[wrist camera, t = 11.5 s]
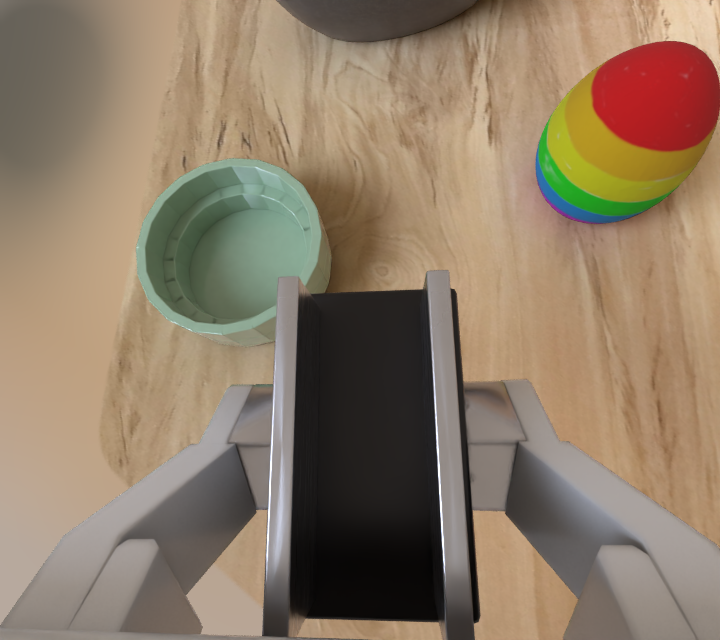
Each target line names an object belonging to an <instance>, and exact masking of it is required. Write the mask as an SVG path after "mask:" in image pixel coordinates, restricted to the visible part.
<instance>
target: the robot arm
mask: <svg viewBox="0 0 720 640" xmlns="http://www.w3.org/2000/svg"><path fill="white" fill-rule="evenodd" d="M463 385H464V399H465V412H466V426H467V440H468V453H469V467H470V480H471V494H472V508H473V510H480V511H506V512H505V514H506V515H507V516H508V517H509V519H510V520H511V521H512V522H513V523H514V524H515V526H516V527H517V528H518V529H519V530H520V531H521V533H522V534H523V535H524V536H525V537H526V538H527V540H528V541H529V542H530V543H531V544H532V546H533V547H534V548H535V549H536V550H537V551H538V553H539V554H540V555H541V556H542V557H543V558H544V560H545V561H546V562H547V563H548V564H549V565H550V567H551V568H552V569H553V570H554V571H555V572H556V574H557V575H558V576H559V577H560V578H561V579H562V581H563V582H564V583H565V584H566V585H567V586H568V588H569V589H570V590H571V591H572V592H573V593H574V595H575V596H576V597H577V598H578V599H579V600H578V602H577V604H576V607H575V609H574V612H573V614H572V617H571V619H570V621H569V624H568V626H567V629H566V631H565V633H564V636H563V640H720V549H719V547H718V546H717V544H715V543H714V542H712V541H711V540H709V539H708V538H706V537H705V536H704V535H702V534H701V533H699V532H698V531H696V530H695V529H694V528H692V527H691V526H689V525H688V524H686V523H685V522H684V521H682V520H681V519H679V518H678V517H676V516H675V515H674V514H672V513H671V512H669V511H668V510H666V509H665V508H663V507H662V506H661V505H659V504H658V503H656V502H655V501H653V500H652V499H651V498H649V497H648V496H646V495H645V494H643V493H642V492H641V491H639V490H638V489H636V488H635V487H633V486H632V485H631V484H629V483H628V482H626V481H625V480H623V479H622V478H621V477H619V476H618V475H616V474H615V473H613V472H612V471H610V470H609V469H608V468H606V467H605V466H603V465H602V464H600V463H599V462H598V461H596V460H595V459H593V458H592V457H590V456H589V455H588V454H586V453H585V452H583V451H582V450H580V449H579V448H578V447H576V446H575V445H573V444H572V443H570V442H569V441H560V440H559V438H558V436H557V434H556V432H555V430H554V428H553V426H552V424H551V422H550V420H549V418H548V416H547V414H546V412H545V410H544V408H543V406H542V404H541V402H540V399H539V397H538V395H537V393H536V391H535V389H534V387H533V385H532V383H531V382H530V381H529V380H527V379H517V380H501V381H471V382H463ZM272 399H273V384H256V385H231V386H230V387H228V388H227V390H226V392H225V393H224V395H223V397H222V399H221V401H220V403H219V405H218V407H217V409H216V411H215V413H214V415H213V417H212V419H211V421H210V422H209V424H208V426H207V428H206V430H205V432H204V434H203V436H202V438H201V440H200V442H199V444H190V445H189V446H188V447H186V448H185V449H183V450H182V451H181V452H179V453H178V454H176V455H175V456H174V457H172V458H171V459H169V460H168V461H167V462H165V463H164V464H163V465H161V466H160V467H158V468H157V469H156V470H154V471H153V472H151V473H150V474H149V475H147V476H146V477H144V478H143V479H142V480H140V481H139V482H138V483H136V484H135V485H133V486H132V487H131V488H129V489H128V490H126V491H125V492H124V493H122V494H121V495H119V496H118V497H117V498H115V499H114V500H112V501H111V502H110V503H109V504H107V505H106V506H104V507H103V508H101V509H100V510H99V511H97V512H96V513H94V514H93V515H92V516H90V517H89V518H88V519H86V520H85V521H83V522H82V523H81V524H79V525H78V526H76V527H75V528H74V529H72V530H71V531H69V532H68V533H67V534H65V535H64V536H63V537H62V539H61V540H60V542H59V543H58V545H57V546H56V547H55V549H54V550H53V552H52V553H51V554H50V556H49V557H48V559H47V560H46V561H45V563H44V564H43V566H42V567H41V568H40V570H39V571H38V573H37V574H36V576H35V577H34V578H33V580H32V582H31V583H30V584H29V586H28V587H27V588H26V590H25V591H24V593H23V594H22V595H21V597H20V598H19V600H18V601H17V602H16V604H15V605H14V607H13V608H12V610H11V611H10V612H9V614H8V615H7V617H6V618H5V619H4V621H3V622H2V624H1V625H0V640H366V639H335V638H302V637H270V636H237V635H205V634H201V631H202V625H201V622H200V620H199V618H198V616H197V614H196V613H195V611H194V609H193V607H192V606H191V604H190V602H189V600H188V598H187V597H186V595H187V594H188V592H189V591H190V590H191V589H192V588H193V586H194V585H195V584H196V583H197V582H198V581H199V579H200V578H201V577H202V576H203V575H204V573H205V572H206V571H207V570H208V569H209V567H210V566H211V565H212V564H213V563H214V562H215V561H216V559H217V558H218V557H219V556H220V555H221V554H222V552H223V551H224V550H225V549H226V548H227V546H228V545H229V544H230V543H231V542H232V541H233V539H234V538H235V537H236V536H237V535H238V534H239V532H240V531H241V530H242V529H243V528H244V526H245V525H246V524H247V523H248V522H249V521H250V519H251V518H252V517H253V516H254V515H255V514H256V510H268V492H269V469H270V446H271V423H272Z"/></svg>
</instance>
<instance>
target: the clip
mask: <svg viewBox="0 0 720 640" xmlns="http://www.w3.org/2000/svg"><path fill="white" fill-rule="evenodd" d="M305 618H308V619H342V620H376V621H411V622H439V624H440V629H441V634H442V638H443V640H475V636H474V623H477V622H479V619H480V603H479V589H478V576H477V562H476V549H475V535H474V521H473V508H472V494H471V480H470V467H469V453H468V440H467V426H466V412H465V399H464V385H463V371H462V358H461V344H460V331H459V317H458V303H457V293H456V291H455V289H451V288H450V276H449V271H448V270H434V271H427V273H426V277H425V282H424V287H423V289H420V290H393V291H366V292H339V293H312V294H310V293H309V292H308V290H307V289H306V287H305V286H304V284H303V283H302V281H301V279H300V278H299V277H298V276H286V277H278V284H277V307H276V330H275V353H274V376H273V399H272V423H271V446H270V469H269V492H268V515H267V538H266V561H265V584H264V607H263V631H262V636H270V637H297V635H298V633H299V631H300V629H301V627H302V624H303V622H304V620H305Z"/></svg>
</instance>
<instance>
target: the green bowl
mask: <svg viewBox="0 0 720 640" xmlns="http://www.w3.org/2000/svg"><path fill="white" fill-rule="evenodd" d="M136 257H137V274H138V277H139V279H140V282H141V284H142V286H143V289H144V291H145V293H146V296H147V298H148V300H149V301H150V302H151V303H152V304H153V305H154V306H155V308H156V309H157V310H158V311H159V312H160V313H161V314H162V315H163V316H164V317H165V318H166V319H168V320H169V321H171V322H173V323H175V324H177V325H179V326H181V327H183V328H186V329H188V330H190V331H192V332H194V333H196V334H199V335H201V336H203V337H205V338H208V339H210V340H212V341H215V342H217V343H219V344H222V345H231V346H241V347H250V346H255V345H260V344H265V343H269V342H273V341H275V330H276V307H277V284H278V277H286V276H298V277H299V278H300V279H301V281H302V283H303V284H304V286H305V287H306V289H307V290H308V292H309V293H310V294H312V293H325V291H326V289H327V287H328V284H329V278H330V271H331V264H332V256H331V251H330V246H329V240H328V236H327V233H326V231H325V228H324V225H323V223H322V220H321V217H320V214H319V212H318V209H317V207H316V205H315V203H314V202H313V200H312V198H311V197H310V195H309V193H308V192H307V190H306V188H305V187H304V186H303V184H301V183H300V182H299V181H298V180H297V179H295V178H294V177H293V176H292V175H290V174H289V173H288V172H287V171H285V170H284V169H283V168H280V167H277V166H275V165H272V164H269V163H266V162H264V161H261V160H257V159H238V158H232V159H231V158H230V159H225V160H221V161H217V162H212V163H208V164H205V165H202V166H200V167H198V168H196V169H194V170H192V171H190V172H188V173H187V174H185V175H183V176H181V177H179V178H178V179H177V180H176V181H175V182H174V183H173V184H172V185H170V186H169V187H168V188H167V189H166V190H165V191H164V192H163V193H162V194H161V195H160V196H159V198H157V200H156V201H155V203H154V205H153V206H152V208H151V210H150V211H149V213H148V214H147V216H146V218H145V219H144V222H143V224H142V228H141V232H140V235H139V239H138V243H137V247H136Z"/></svg>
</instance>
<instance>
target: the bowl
mask: <svg viewBox="0 0 720 640" xmlns="http://www.w3.org/2000/svg"><path fill="white" fill-rule="evenodd" d="M276 1H277V2H278V3H279V4H280V5H281V6H283V7H284V8H285V9H286V10H287V11H288V12H289V13H290V14H292V15H293V16H294V17H295V18H297V19H298V20H299V21H301V22H302V23H304V24H305V25H307V26H309V27H311V28H312V29H314V30H316V31H318V32H320V33H322V34H325V35H327V36H329V37H332V38H334V39H338V40H343V41H351V42H370V41H380V40H387V39H393V38H398V37H403V36H407V35H410V34H414V33H417V32H421V31H424V30H427V29H429V28H432V27H435V26H437V25H439V24H442V23H444V22H446V21H448V20H450V19H452V18H454V17H456V16H458V15H459V14H461V13H463V12H464V11H466V10H467V9H468V8H470V7H471V6H472V5H474V4H475V3H476V2H477V1H478V0H276Z"/></svg>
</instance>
